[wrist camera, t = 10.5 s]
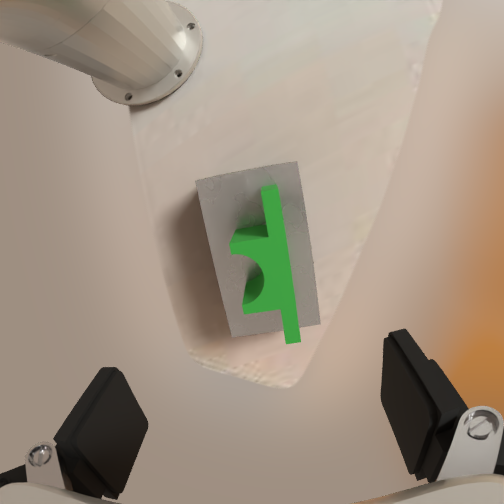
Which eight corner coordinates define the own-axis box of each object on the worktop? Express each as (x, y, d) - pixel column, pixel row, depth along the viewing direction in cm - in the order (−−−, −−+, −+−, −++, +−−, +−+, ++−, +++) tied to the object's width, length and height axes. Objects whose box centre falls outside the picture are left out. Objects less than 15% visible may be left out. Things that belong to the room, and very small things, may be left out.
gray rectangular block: (209, 177, 29) (195, 180, 23) (291, 162, 28) (297, 161, 23) (237, 308, 33) (231, 337, 27) (311, 296, 32) (320, 324, 26)
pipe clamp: (228, 192, 24) (219, 198, 19) (276, 183, 23) (278, 187, 19) (253, 321, 27) (251, 349, 22) (296, 314, 26) (301, 342, 22)
